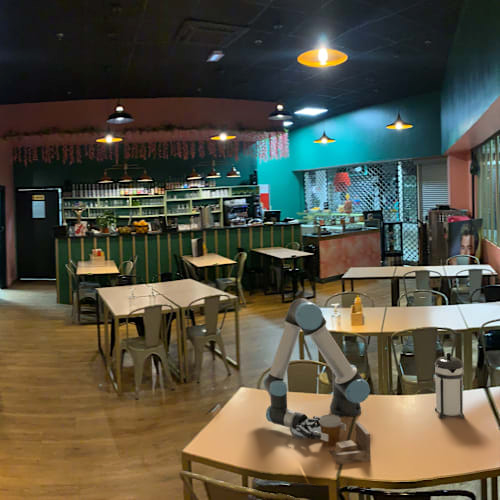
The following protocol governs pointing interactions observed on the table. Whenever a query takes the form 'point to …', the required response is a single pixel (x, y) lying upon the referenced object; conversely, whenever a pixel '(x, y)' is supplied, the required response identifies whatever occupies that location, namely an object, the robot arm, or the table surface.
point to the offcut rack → (362, 447)
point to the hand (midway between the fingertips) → (337, 432)
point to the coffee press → (449, 386)
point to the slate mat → (300, 436)
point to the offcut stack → (346, 446)
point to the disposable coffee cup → (330, 428)
